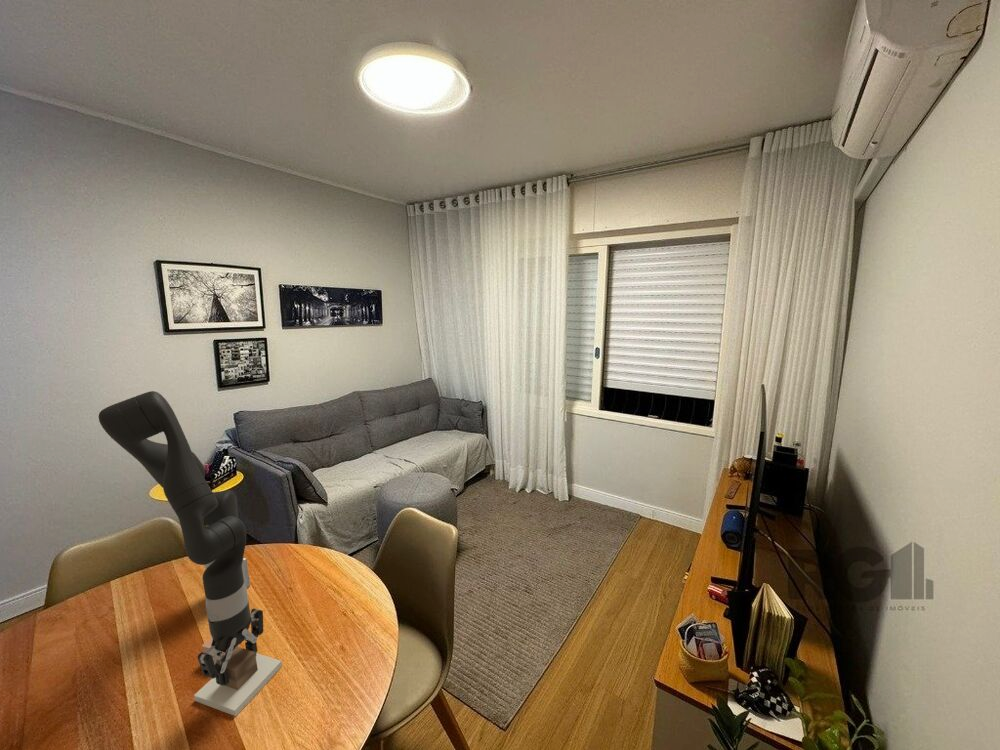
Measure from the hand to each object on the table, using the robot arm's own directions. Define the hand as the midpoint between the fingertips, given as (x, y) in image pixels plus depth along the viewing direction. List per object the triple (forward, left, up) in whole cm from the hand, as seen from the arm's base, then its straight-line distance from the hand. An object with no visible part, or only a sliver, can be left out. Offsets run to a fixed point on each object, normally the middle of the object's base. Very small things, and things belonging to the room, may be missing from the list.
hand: (238, 669), depth 88 cm
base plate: (0, 0, -4) cm, 4 cm away
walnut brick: (0, 0, -2) cm, 2 cm away
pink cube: (-4, -11, -4) cm, 12 cm away
